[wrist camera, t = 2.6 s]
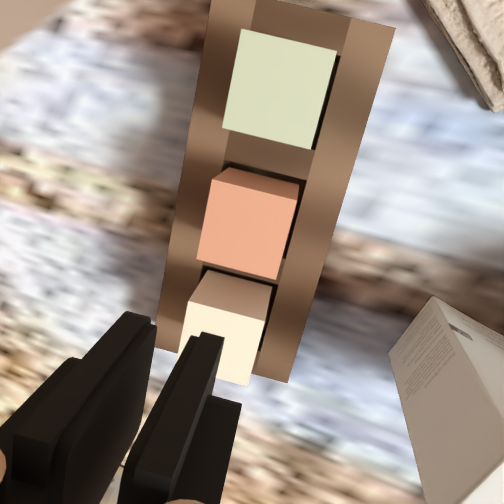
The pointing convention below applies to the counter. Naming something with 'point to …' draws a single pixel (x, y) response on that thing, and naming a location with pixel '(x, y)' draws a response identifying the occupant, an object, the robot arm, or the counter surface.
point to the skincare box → (453, 404)
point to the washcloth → (475, 41)
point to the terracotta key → (247, 222)
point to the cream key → (228, 321)
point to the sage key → (277, 88)
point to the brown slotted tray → (272, 165)
